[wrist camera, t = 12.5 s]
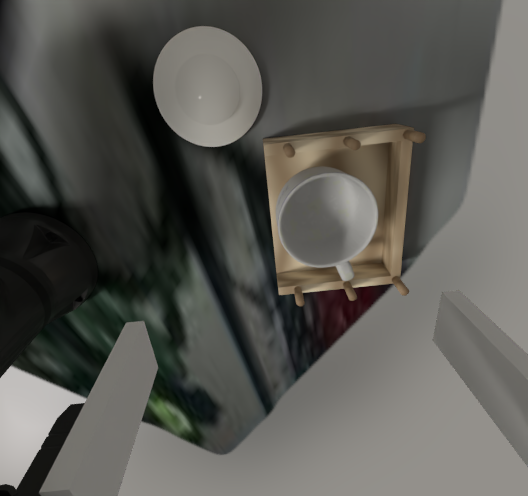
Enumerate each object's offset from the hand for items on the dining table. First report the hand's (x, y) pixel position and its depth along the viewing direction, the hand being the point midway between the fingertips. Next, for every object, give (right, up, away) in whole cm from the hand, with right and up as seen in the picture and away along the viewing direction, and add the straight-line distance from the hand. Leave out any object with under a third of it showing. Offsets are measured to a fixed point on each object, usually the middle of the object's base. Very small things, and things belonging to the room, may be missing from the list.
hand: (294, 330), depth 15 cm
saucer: (-8, +22, +22) cm, 32 cm away
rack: (+7, +9, +29) cm, 31 cm away
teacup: (+6, +8, +28) cm, 29 cm away
